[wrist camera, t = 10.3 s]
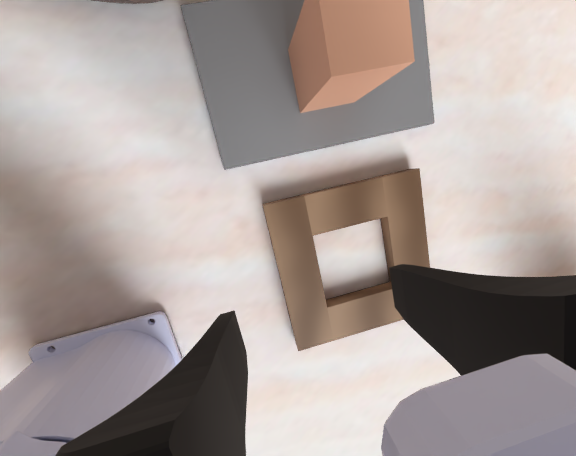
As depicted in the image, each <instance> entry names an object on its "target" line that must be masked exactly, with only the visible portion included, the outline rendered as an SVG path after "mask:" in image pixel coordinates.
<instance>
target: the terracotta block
mask: <svg viewBox="0 0 576 456" xmlns="http://www.w3.org/2000/svg"><path fill="white" fill-rule="evenodd" d="M288 53H289V58H290V63H291V68H292V74H293V79H294V84H295V89H296V94H297V100H298V105H299V110H300V113H304V112H309V111H314V110H319V109H324V108H329V107H334V106H339V105H344V104H349V103H354V102H356V101H357V100H359V99H360V98H362V97H363V96H364V95H366V94H367V93H369V92H370V91H372V90H373V89H375V88H376V87H378V86H379V85H381V84H382V83H384V82H385V81H387V80H388V79H390V78H391V77H393V76H394V75H395V74H397V73H398V72H400V71H401V70H403V69H404V68H406V67H407V66H409V65H410V64H412V63H413V62H415V59H414V49H413V38H412V28H411V18H410V8H409V0H304V3H303V6H302V9H301V12H300V15H299V18H298V21H297V24H296V27H295V30H294V33H293V36H292V39H291V42H290V45H289V48H288Z"/></svg>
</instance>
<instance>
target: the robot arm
mask: <svg viewBox="0 0 576 456" xmlns="http://www.w3.org/2000/svg"><path fill="white" fill-rule="evenodd" d="M389 271H390V278H391V285H392V292H393V299H394V306H395V308H396V310H397V311H398V312H399V314H400V315H401V316H402V317H403V319H404V320H405V321H406V322H407V323H408V324H409V325H410V326H411V327H412V328H413V329H414V330H415V331H416V332H417V333H418V334H419V335H420V336H421V337H422V338H423V339H424V340H425V341H426V342H428V343H429V344H430V345H431V346H432V347H433V348H434V349H435V350H436V351H437V352H438V353H439V354H440V355H441V356H443V357H444V358H445V359H446V360H447V361H448V362H449V363H450V364H451V365H452V366H453V367H454V368H455V369H456V370H457V371H458V372H459V374H460V375H461V376H459V377H456V378H453V379H450V380H447V381H444V382H441V383H438V384H435V385H432V386H429V387H426V388H423V389H420V390H419V391H417V392H415V393H414V394H412V395H410V396H408V397H407V398H405V399H403V400H402V401H400V402H399V403H398V405H397V406H396V408H395V409H394V410H393V412H392V413H391V415H390V416H389V417H388V419H387V420H386V422H385V424H384V430H383V438H382V446H381V449H382V455H383V456H576V275H574V276H557V277H502V276H487V275H476V274H468V273H460V272H453V271H447V270H441V269H435V268H429V267H423V266H416V265H409V264H400V265H397V266H393V267H389ZM150 319H154V320H155V322H151V321H150ZM51 346H53V347H55V349H53V348H52V347H51ZM29 356H30V358H31V360H32V363H31V364H30V365H29V366H28V367H27V368H26V369H24V370H23V371H22V372H21V373H20V374H19V375H18V376H16V377H15V378H14V379H13V380H12V381H11V382H10V383H8V384H7V385H6V386H5V387H4V388H3V389H2V390H0V456H246V447H245V423H246V403H247V383H248V367H247V355H246V349H245V345H244V342H243V339H242V335H241V332H240V328H239V325H238V322H237V318H236V315H235V311H231V312H227V313H224V314H220V315H219V316H218V318H217V319H216V320H215V321H214V323H213V324H212V325H211V326H210V328H209V329H208V330H207V332H206V333H205V334H204V335H203V337H202V338H201V339H200V340H199V341H198V343H197V344H196V345H195V346H194V347H193V348H192V349H191V350H190V352H189V353H188V354H187V355H186V356H185V357H184V358H183V359H182V358H181V355H180V352H179V349H178V347H177V344H176V341H175V338H174V335H173V333H172V330H171V327H170V324H169V321H168V319H167V316H166V314H165V313H164V312H161V311H160V312H155V313H151V314H147V315H143V316H140V317H136V318H132V319H129V320H125V321H121V322H118V323H114V324H110V325H106V326H103V327H99V328H95V329H92V330H88V331H84V332H81V333H77V334H73V335H69V336H66V337H62V338H58V339H55V340H51V341H47V342H43V343H40V344H36V345H34V346H33V347H32V348H31V349H30V350H29Z"/></svg>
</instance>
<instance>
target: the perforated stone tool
mask: <svg viewBox="0 0 576 456" xmlns="http://www.w3.org/2000/svg"><path fill="white" fill-rule="evenodd" d="M93 1H102V2H112V3H133V4H137V3H152V2H158V1H162V0H93Z"/></svg>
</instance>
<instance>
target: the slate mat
mask: <svg viewBox="0 0 576 456" xmlns="http://www.w3.org/2000/svg"><path fill="white" fill-rule="evenodd" d="M303 3H304V0H212V1H206V2H199V3H193V4H186V5H181V9H182V12H183V16H184V20H185V24H186V27H187V31H188V35H189V39H190V42H191V46H192V50H193V54H194V57H195V61H196V65H197V69H198V72H199V76H200V80H201V84H202V87H203V91H204V95H205V99H206V102H207V106H208V110H209V114H210V117H211V121H212V125H213V129H214V132H215V136H216V140H217V144H218V147H219V151H220V155H221V159H222V162H223V166H224V170H226V169H230V168H235V167H239V166H244V165H248V164H253V163H257V162H262V161H267V160H271V159H276V158H280V157H285V156H289V155H294V154H298V153H303V152H307V151H312V150H316V149H321V148H325V147H330V146H334V145H339V144H344V143H348V142H353V141H357V140H362V139H366V138H371V137H375V136H380V135H384V134H389V133H393V132H398V131H402V130H407V129H411V128H416V127H421V126H425V125H429V124H433V123H434V114H433V103H432V92H431V81H430V70H429V58H428V47H427V36H426V25H425V14H424V3H423V0H409V8H410V18H411V28H412V38H413V49H414V59H415V62H413V63H412V64H410V65H409V66H407V67H406V68H404V69H403V70H401V71H400V72H398V73H397V74H395V75H394V76H393V77H391V78H390V79H388V80H387V81H385V82H384V83H382V84H381V85H379V86H378V87H376V88H375V89H373V90H372V91H370V92H369V93H367V94H366V95H364V96H363V97H362V98H360V99H359V100H357V101H356V102H354V103H349V104H344V105H339V106H334V107H329V108H324V109H319V110H314V111H309V112H304V113H300V110H299V105H298V100H297V94H296V89H295V84H294V79H293V74H292V68H291V63H290V58H289V53H288V48H289V45H290V42H291V39H292V36H293V33H294V30H295V27H296V24H297V21H298V18H299V15H300V12H301V9H302V6H303Z"/></svg>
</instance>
